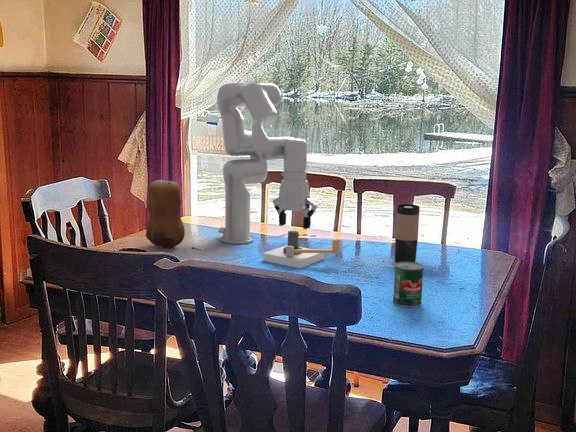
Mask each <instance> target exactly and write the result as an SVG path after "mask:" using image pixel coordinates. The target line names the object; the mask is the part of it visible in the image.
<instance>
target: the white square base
mask: <svg viewBox="0 0 576 432" xmlns="http://www.w3.org/2000/svg"><path fill="white" fill-rule="evenodd" d="M286 246H288V244H286V245H283V246H281V247H277V248H274V249H271V250H268V251H265V252H263V253H262V261H263V262H268V263H273V264H277V265H281V266H282V265H283V266H286V267H291V268H297V269H303V268H305V267H307V266H308V267H309V265H310V266H311V265H313V264H315V263H317V262H320V261H322V260H324V259H325V253H301V254H295V255H294V256H293V257H287V256H286V253H284V252H283V248H284V247H286ZM300 247H301V248H302V249H309V248H307V247H302V246H300Z"/></svg>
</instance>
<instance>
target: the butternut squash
mask: <svg viewBox="0 0 576 432" xmlns="http://www.w3.org/2000/svg"><path fill="white" fill-rule="evenodd" d="M181 206H182V196H181V188H180V185H179V183H177V182H176V181H173V180H162V179H157V180H154V181H152V182H151V183H150V185H149V187H148V204H147V210H148V213H149V216H148V219H147V222H146V233H145V237H146V239H147V240H148V241H149V242H150V243H151V244H152V245H154V246H156V247H162V248H163V247H164V249H166V248H167V249H173V248H174V247H177V246H178V245H180V244H181V243H182V242H183V240H184V239H185V235H186V232H185V225H184V222H183V220H182V218H181Z"/></svg>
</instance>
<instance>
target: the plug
mask: <svg viewBox="0 0 576 432" xmlns="http://www.w3.org/2000/svg"><path fill="white" fill-rule="evenodd" d="M299 233H300V232H299V231H298V230H289V231H287V245H288V246H294V249H302V248H301V247H302V246H299V235H300V234H299ZM283 252H284V253H286V247H284V248H283ZM295 254H301V253H294V255H295Z"/></svg>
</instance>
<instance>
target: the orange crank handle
mask: <svg viewBox="0 0 576 432" xmlns="http://www.w3.org/2000/svg"><path fill="white" fill-rule="evenodd" d="M331 242H332V244H331V249H326V248H325V249H322V248H321V249H319V248H317V249H316V248H315V249H314V248H308V249H294V246H286V245H285V246H286V256H287V257H293V256H294V253H324V254H334V255H335V254H339V239H337V238H334V239H332V241H331Z"/></svg>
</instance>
